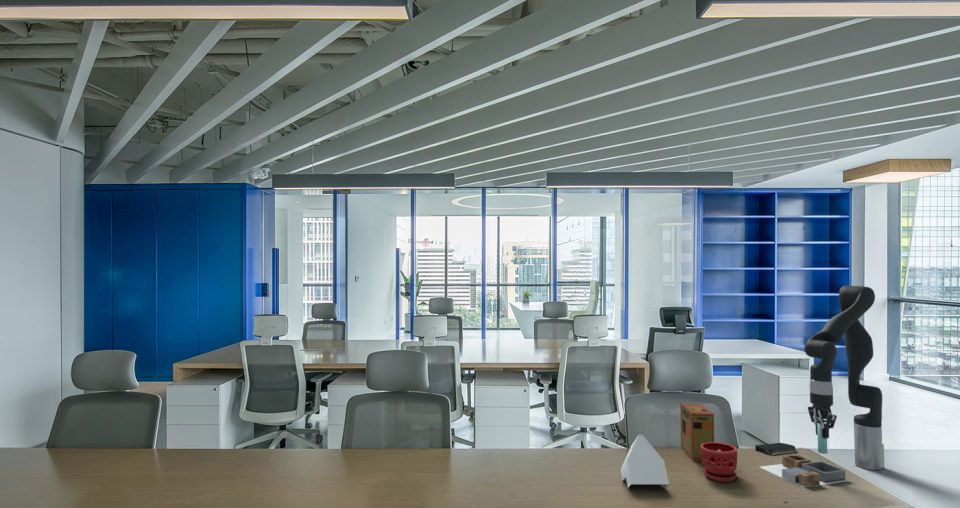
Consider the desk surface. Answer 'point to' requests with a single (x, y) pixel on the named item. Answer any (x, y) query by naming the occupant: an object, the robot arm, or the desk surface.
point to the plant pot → (719, 461)
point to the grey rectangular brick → (792, 474)
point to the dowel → (821, 440)
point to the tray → (825, 471)
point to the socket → (794, 461)
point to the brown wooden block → (809, 479)
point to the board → (778, 468)
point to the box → (695, 429)
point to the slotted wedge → (644, 465)
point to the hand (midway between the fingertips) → (822, 436)
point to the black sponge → (775, 448)
